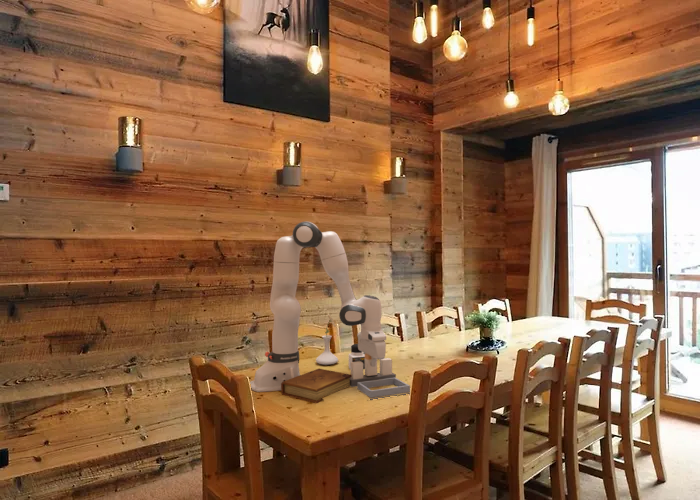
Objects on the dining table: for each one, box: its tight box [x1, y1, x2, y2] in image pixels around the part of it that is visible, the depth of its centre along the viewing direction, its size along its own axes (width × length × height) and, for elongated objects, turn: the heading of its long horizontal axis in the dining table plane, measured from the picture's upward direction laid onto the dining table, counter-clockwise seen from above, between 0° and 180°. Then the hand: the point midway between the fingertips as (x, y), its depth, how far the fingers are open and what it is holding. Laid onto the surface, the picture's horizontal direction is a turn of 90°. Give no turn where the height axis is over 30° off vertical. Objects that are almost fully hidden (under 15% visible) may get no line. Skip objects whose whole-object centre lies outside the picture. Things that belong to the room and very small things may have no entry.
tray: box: [356, 377, 411, 401], centre depth 198 cm, size 18×13×4 cm
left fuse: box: [350, 361, 364, 379], centre depth 208 cm, size 4×3×9 cm, turn 112°
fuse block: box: [349, 372, 397, 388], centre depth 211 cm, size 22×7×4 cm, turn 113°
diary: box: [280, 368, 352, 404], centre depth 201 cm, size 23×19×6 cm
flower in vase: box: [315, 313, 339, 366], centre depth 245 cm, size 13×11×25 cm
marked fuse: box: [364, 353, 378, 376], centre depth 210 cm, size 4×3×9 cm, turn 114°
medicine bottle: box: [348, 343, 365, 371], centre depth 234 cm, size 7×7×12 cm
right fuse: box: [379, 357, 393, 375], centre depth 213 cm, size 4×3×9 cm, turn 113°
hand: (370, 365), depth 210 cm, fingers closed on marked fuse, 3 cm apart
